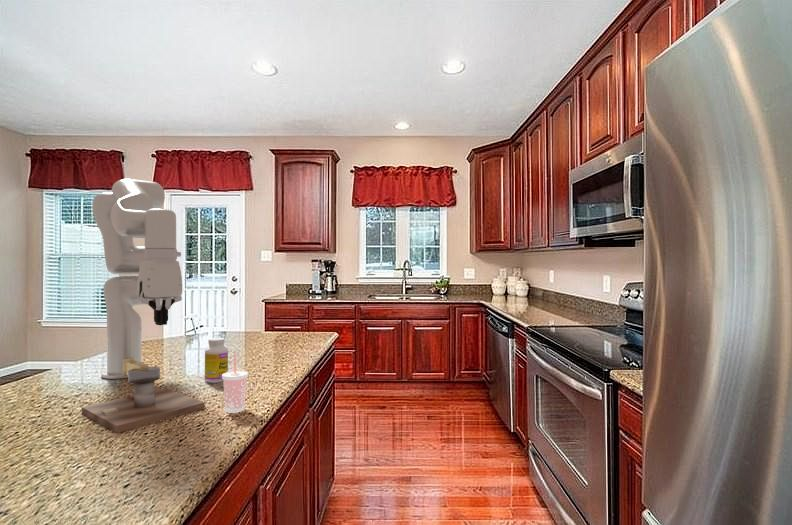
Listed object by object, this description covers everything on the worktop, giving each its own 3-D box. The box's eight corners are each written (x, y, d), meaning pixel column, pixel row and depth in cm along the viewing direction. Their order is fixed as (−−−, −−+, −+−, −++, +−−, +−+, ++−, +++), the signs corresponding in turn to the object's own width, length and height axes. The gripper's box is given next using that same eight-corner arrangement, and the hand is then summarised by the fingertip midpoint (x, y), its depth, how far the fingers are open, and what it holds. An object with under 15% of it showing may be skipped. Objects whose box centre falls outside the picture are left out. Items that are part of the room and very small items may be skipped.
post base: (81, 413, 108) (81, 384, 108) (165, 393, 124) (165, 368, 124) (116, 432, 96) (116, 400, 96) (204, 408, 112) (204, 380, 112)
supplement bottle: (219, 384, 133) (219, 341, 133) (199, 382, 135) (200, 340, 134) (232, 378, 140) (232, 337, 140) (213, 377, 141) (213, 336, 141)
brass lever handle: (112, 376, 113) (112, 360, 113) (140, 371, 118) (140, 356, 118) (135, 385, 105) (135, 368, 105) (165, 379, 110) (165, 363, 110)
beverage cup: (232, 415, 107) (232, 357, 106) (216, 411, 110) (216, 354, 110) (253, 408, 112) (253, 352, 112) (237, 404, 115) (237, 350, 115)
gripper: (181, 256, 127) (181, 320, 127) (124, 255, 115) (124, 326, 115) (195, 255, 123) (195, 322, 122) (137, 255, 111) (137, 329, 110)
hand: (161, 324), depth 119 cm, fingers closed
